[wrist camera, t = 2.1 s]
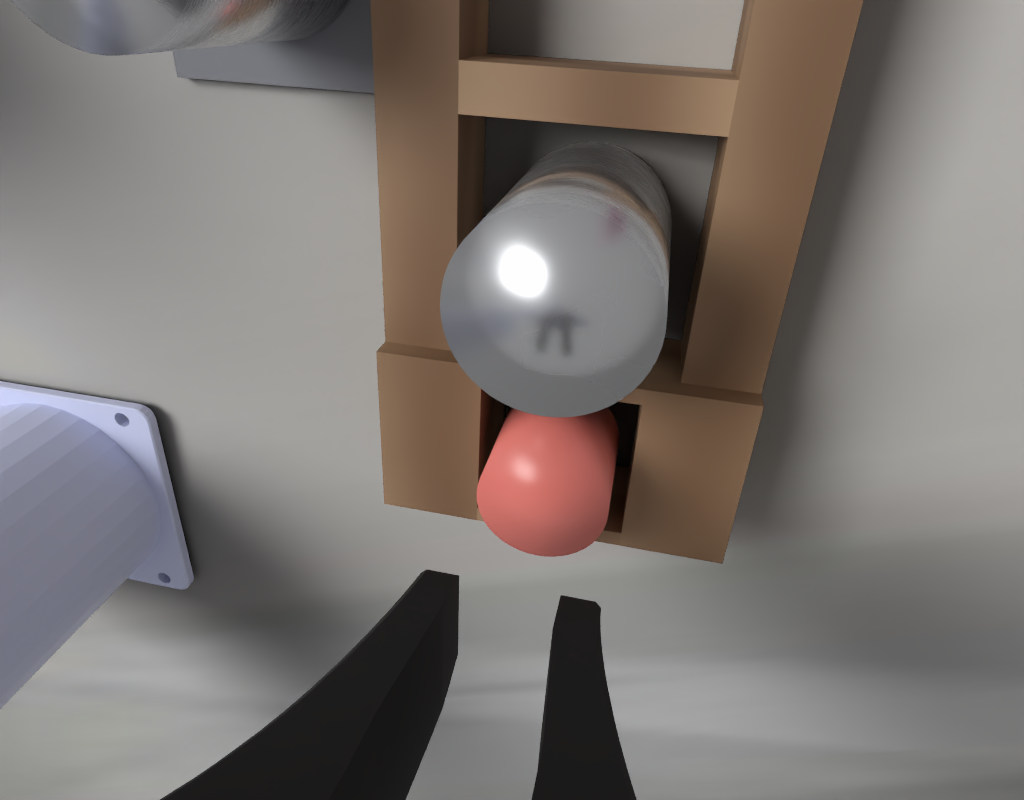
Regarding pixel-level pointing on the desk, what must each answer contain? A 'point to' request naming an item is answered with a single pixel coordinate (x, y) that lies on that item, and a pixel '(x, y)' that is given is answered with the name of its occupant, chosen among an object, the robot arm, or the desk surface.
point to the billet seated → (564, 284)
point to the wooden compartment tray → (718, 270)
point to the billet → (177, 22)
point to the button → (550, 481)
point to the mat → (295, 57)
